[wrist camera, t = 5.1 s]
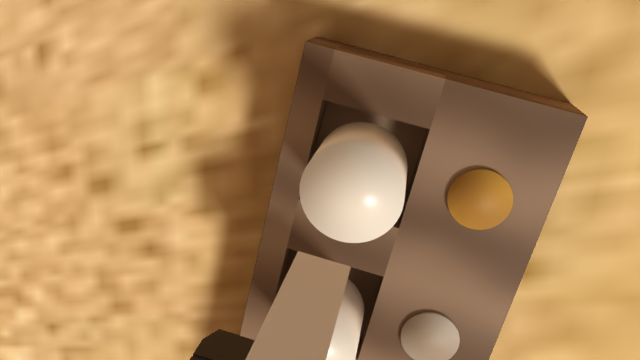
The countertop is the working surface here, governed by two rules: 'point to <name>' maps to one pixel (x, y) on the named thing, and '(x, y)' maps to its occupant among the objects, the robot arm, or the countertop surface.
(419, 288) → the board
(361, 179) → the button
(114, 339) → the countertop surface
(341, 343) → the button
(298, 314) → the robot arm
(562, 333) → the countertop surface
